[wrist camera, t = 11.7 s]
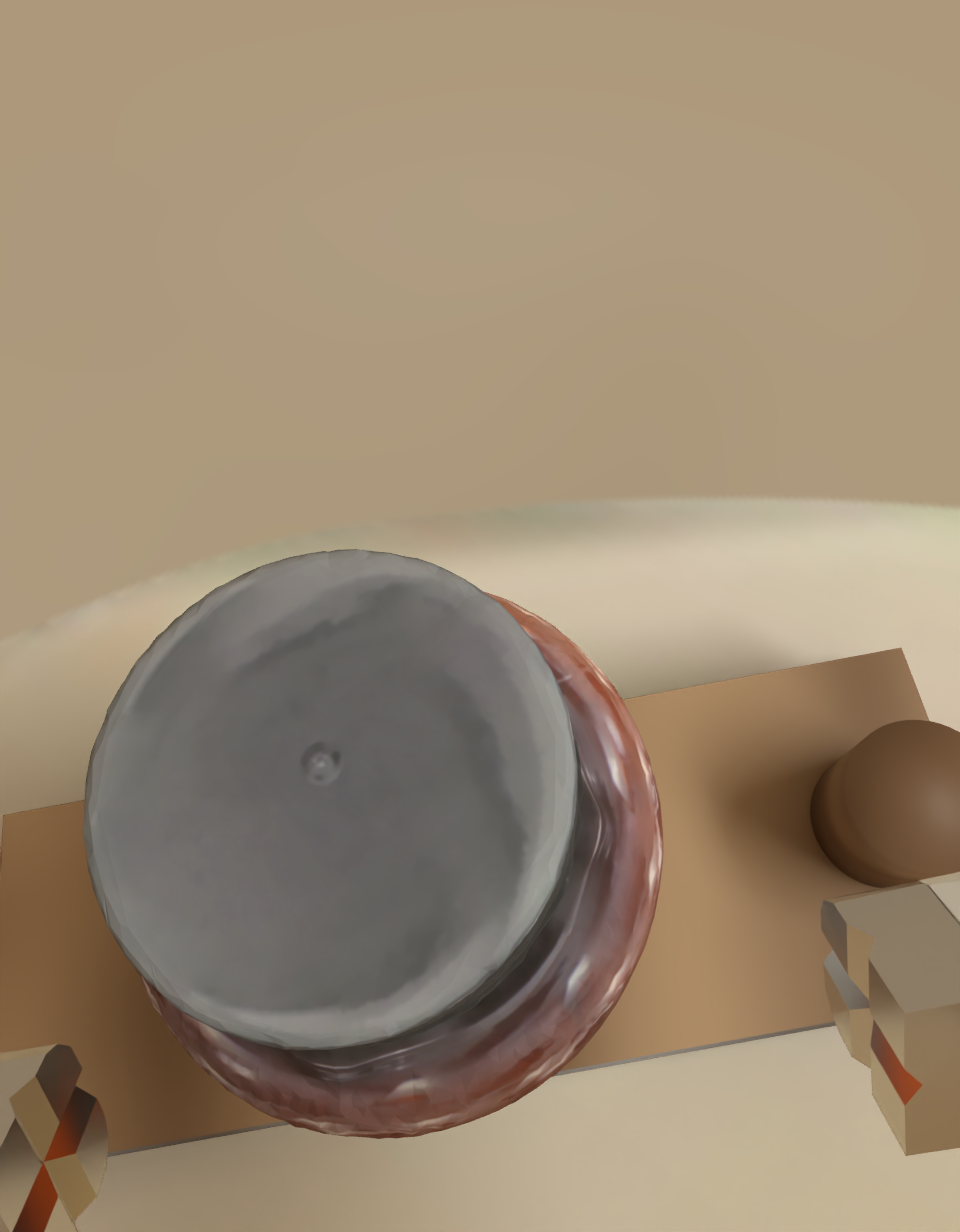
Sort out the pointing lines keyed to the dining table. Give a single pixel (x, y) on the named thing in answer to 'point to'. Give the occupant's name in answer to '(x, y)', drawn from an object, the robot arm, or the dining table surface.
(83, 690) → the dining table surface
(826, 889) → the body
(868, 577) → the dining table surface
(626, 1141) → the dining table surface
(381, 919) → the supplement bottle
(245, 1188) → the dining table surface
